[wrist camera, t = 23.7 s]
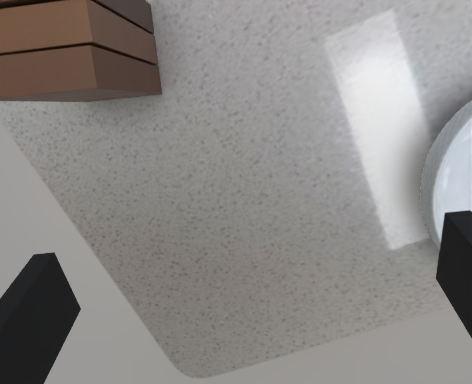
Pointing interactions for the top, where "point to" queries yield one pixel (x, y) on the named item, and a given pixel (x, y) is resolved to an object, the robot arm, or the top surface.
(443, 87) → the top surface
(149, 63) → the brown books
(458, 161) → the cereal bowl
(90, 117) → the top surface
